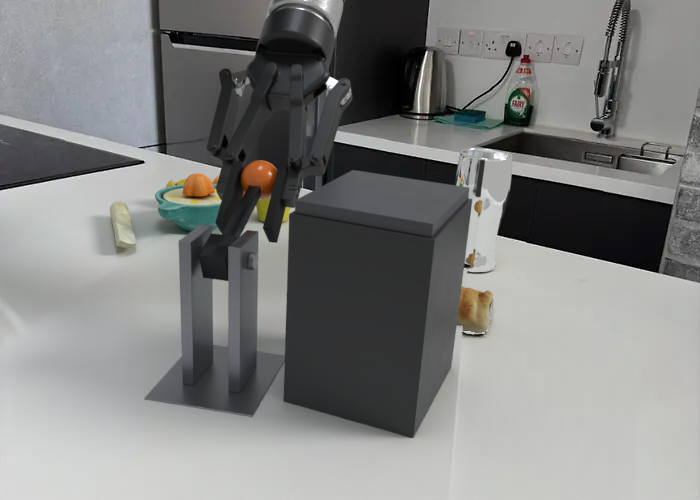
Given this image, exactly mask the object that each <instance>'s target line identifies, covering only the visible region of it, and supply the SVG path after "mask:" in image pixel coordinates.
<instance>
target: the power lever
mask: <svg viewBox="0 0 700 500" xmlns="http://www.w3.org/2000/svg"><path fill="white" fill-rule="evenodd" d="M277 171H278V168H276V166H275V165H274V164H273V163H271V162H269V161H267V160H261V159H259V160H254V161H251V162H249V163H248V164H247V165H246V166H244V170H243V172H242V174H241V185H242V188H243V190H244V191H245V193H244V195H243V197H242V199H241V201H240V203H239V204H238V206H237V208H236V210H235V212H234V214H233V216H232V217H231V219H230V221H229V223H228V225H227V227H226V228H225V230H224V232H223V234H222V233H220V234H219V233H213V232H212V233H211V234H210V236H209V238H208V240H207V241H206V243H205V245H204V247H203V248H202V250H201V252H200V254H199V260H200V265H201V270H202V275H203V278H208V279H212V280H217V281H225V282H228V247H229V246H230V245H231V244H232V243H233V242H235V241H236V240H237V239H238V238H239V237H240V236H241V235H242V234H243V233H244V232H243V231H244V230H245V229H246V227H247V224H248V222H249V220H250V218H251V216H252V214H253V212H254V210H255V208H256V204H257V202H258V200H262V199H267V198H269V197H271V194H272V190H273V186H274V182H275V178H276V174H277Z"/></svg>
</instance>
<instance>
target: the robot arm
mask: <svg viewBox="0 0 700 500" xmlns="http://www.w3.org/2000/svg"><path fill="white" fill-rule="evenodd" d="M345 3H346V0H270V2H269V5H268V8H267V11H266V14H265V20H264V22H263V25H262V28H261V32H260V35H259V39H258V41H257V45H256V49H255V55H254V57H253V59H252V60H251V61H250V62H249V63H248V64H247V66H246V69H244V70H241V71H236V72H232V71H231V69H230V68H222V69H221V70H219V71H218V77H219V82H220V87H221V88H220V92H219V97H218V99H217V104H216V107H215V112H214V116H213V120H212V124H211V127H210V132H209V136H208V141H207V144H206V150H207V151H208V154H209V156H210V158H211V160H212V162H213V164H214V165H215V166H216V167H221V169H220V172H219V174H218V176H219V178H218V182H217V185H216V191H217V194H218V196H219V198H220V199H221V200H222V201H221V204H220V208H219V211H218V215H217V218H216V222H215V223H216V225H217V227H216V228H218V230H219V232H220V234H221V235H222V234H223V232H224V230H225V228H226V227H227V225H228V223H229V221H230V219H231V217H232V216H233V214H234V212H235V210H236V208H237V206H238V204H239V203H240V201H241V199H242V196H243V193H244V190H243V188H242V185H241V174H242V172H243V170H244V168H245V165H246V163H247V161H248V159H249V157H250V154H251V153H252V151H253V149H254V147H255V144H256V143H257V141H258V139H259V137H260V135H261V133H262V131H263V129H264V127H265V125H266V123H267V121H268V120H270V119H272V116H273V115H274V113H275V111H280V110H285V111H288V112H289V127H288V129H289V131H288V132H289V133H288V156H286V159H287V163H288V165H285V164H278V167H277V170H278V171H277V174H276V178H275V182H274V186H273V190H272V194H271V198H270V202H269V206H268V210H267V213H266V217H265V221H264V222H263V225H262V226H263V227H262V230H263V232H264V234H265V237H266V239H267V241H268V243H274V244H277V243H278V241H279V237H280V232H281V228H282V225H283V222H282V221H283V216H284V212H285V208H286V207H289V208H290V209H295V200H297V199H299V198H300V194H301V189H302V185H303V182H304V179H306V178H307V177H309V176H315V177H323V175H324V174H325V173H326V171H327V167H328V163H329V161H330V156H331V153H332V149H333V146H334V143H335V140H336V136H337V132H338V129H339V125H340V122H341V118H342V115H343V113H344V111H345V110H346V109H347V108H348V107H349V105H350V104H351V103H352V101H353V93H352V87H351V86H352V85H351V80H350V79H349V78H347V77H342V78H339V79H336V78H334V77H331V76H330V75H331V74H330V73H331V72H330V66H331V63H332V58H333V54H334V50H335V45H336V39H337V36H338V31H339V28H340V24H341V19H342V16H343V12H344V7H345V6H344V5H345ZM249 84H250V86H251V88H252V90H253V91H252V93H251V95H250V102H249V104H248V105H247V108H246V110H245V112H244V114H243V115H242V117H241V120H240V121H239V123H238V125H237V127H236V129H235V123H236V119H237V115H238V112H239V111H238V110H239V107H240V97H242V96H243V95H244V92H245V88H246V86H247V85H249ZM323 93H325V95H326V99H325V102H324V105H323V109H322V111H321V115H320V118H319V122H318V125H317V128H316V132H315V135H314V139H313V142H312V145H311V149H310V152H309V155H307V123H308V120H309V119H308V115H309V112H308V111H309V105H310V104H311V103H312V102H314V101H315V100H316V99H318V98H319V97H320V96H322V94H323ZM234 129H235V130H234Z"/></svg>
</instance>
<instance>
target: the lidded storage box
mask: <svg viewBox="0 0 700 500" xmlns="http://www.w3.org/2000/svg"><path fill="white" fill-rule="evenodd" d="M468 196H469V188H468V187H462V186H455V184H448V183H443V182H442V183H441V182H436V181H435V182H434V181H428V180H421V179H414V178H409V177H401V176H395V175H389V174H381V173H377V172H369V171H363V170H355V169H352V170H350V171H349V172H346V173H344V174H343V175H341V176H339V177H337V178H334V179H333V180H331V181H329V182H327V183H325V184H323V185H322V186H319V187H318V188H315V189H313V190H312V191H310V192H308V193H306V194H304V195H302V196H300V197H298V199H297V200H295V207H294V210H293V211H291V212H289V216H288V243H287V270H286V271H287V275H286V276H287V277H286V304H285V305H286V306H285V307H286V308H285V309H286V312H285V341H284V355H285V362H284V371H283V372H284V374H283V403H285V404H287V403H288V404H290V405H293V406H298V407H301V408H305V409H308V410H312V411H315V412H318V413H322V414H326V415H329V416H334V417H336V418H340V419H343V420H347V421H350V422H354V423H356V424H357V423H358V424H361V425H364V426H368V427H372V428H374V429H379V430H382V431H386V432H390V433H393V434H396V435H400V436H403V437H407V438H410V439H414V438H415V436H416V434H417V433H418V431H419V429H420V427H421V425H422V424H423V422H424V419H425V417H426V416H427V415H428V412H429V410H430V408H431V406H432V404H433V403H434V400H435V399H436V397H437V395H438V393H439V391H440V390H441V387H442V386H443V384H444V382H445V380H446V378H447V376H448V375H449V373H450V371H451V369H452V365H453V359H454V357H453V356H454V350H455V340H456V334H457V333H456V332H457V327H458V326H457V325H458V324H457V318H458V310H459V302H460V294H461V287H462V285H463V278H464V271H465V270H464V263H465V255H466V247H467V239H468V231H469V223H470V215H471V207H472V199H469V198H468Z"/></svg>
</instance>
